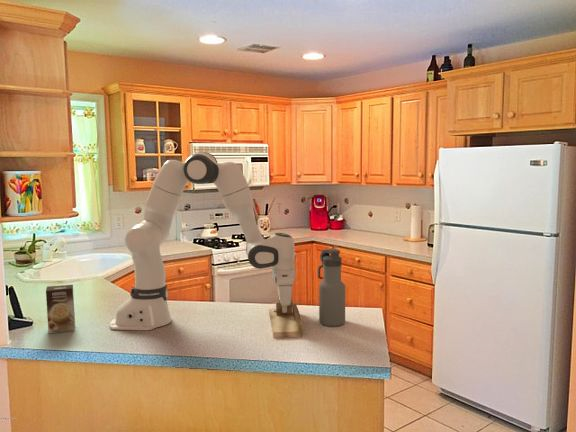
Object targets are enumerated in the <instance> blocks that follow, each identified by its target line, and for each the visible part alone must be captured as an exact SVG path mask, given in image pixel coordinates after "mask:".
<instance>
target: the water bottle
mask: <svg viewBox="0 0 576 432" xmlns="http://www.w3.org/2000/svg"><path fill="white" fill-rule="evenodd" d="M340 254H341V251H340V249H336V248H328V249H327V248H325V249H322V251H321V252H320V256H319V260H320V262H321V264H320V265H319V266H318V268H317V278H318V279H319V280H322V281H321V282H320V283H319V287H318V295H319V296H318V299H319V300H318V311H319V313H318V315H319V316H318V317H319V318H318V320H319V323H320V324H321V325H323V326H327V327H340V326H342V325H344V324H345V323H346V284H345V283H344V282H343V281H342V260H343V258H342V257H341V256H340ZM321 269H323V270H322V271H323V273H322V274H323V276H321Z"/></svg>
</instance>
